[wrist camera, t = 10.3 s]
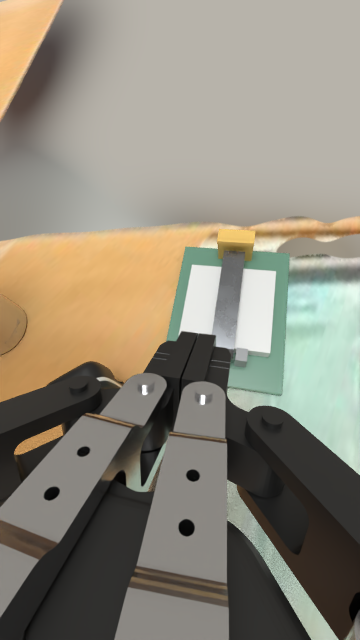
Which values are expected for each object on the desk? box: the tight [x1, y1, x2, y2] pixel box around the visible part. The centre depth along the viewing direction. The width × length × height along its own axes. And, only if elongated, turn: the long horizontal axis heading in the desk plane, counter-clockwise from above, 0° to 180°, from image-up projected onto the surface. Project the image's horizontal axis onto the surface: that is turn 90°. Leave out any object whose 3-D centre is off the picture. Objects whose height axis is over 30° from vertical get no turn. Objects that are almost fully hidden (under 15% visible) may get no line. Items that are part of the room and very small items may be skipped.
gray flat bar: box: [212, 250, 245, 360], centre depth 40 cm, size 16×3×1 cm, turn 170°
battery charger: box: [47, 361, 125, 389], centre depth 36 cm, size 7×4×11 cm, turn 120°
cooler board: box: [166, 229, 289, 395], centre depth 40 cm, size 21×16×6 cm
